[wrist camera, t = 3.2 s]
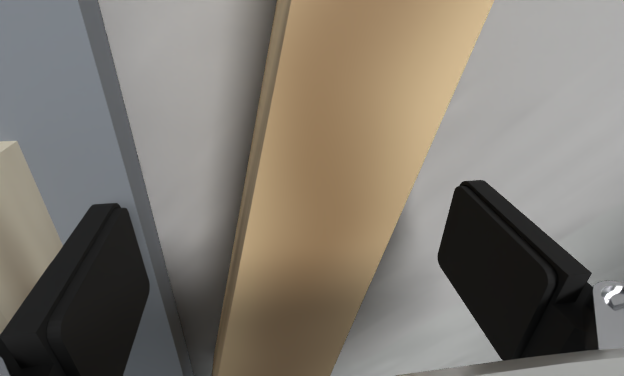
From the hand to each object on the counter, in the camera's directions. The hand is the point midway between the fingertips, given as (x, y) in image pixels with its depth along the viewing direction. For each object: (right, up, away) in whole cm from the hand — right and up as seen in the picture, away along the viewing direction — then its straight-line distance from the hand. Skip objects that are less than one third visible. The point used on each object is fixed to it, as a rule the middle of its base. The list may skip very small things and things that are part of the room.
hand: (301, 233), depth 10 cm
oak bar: (0, +2, +3) cm, 3 cm away
